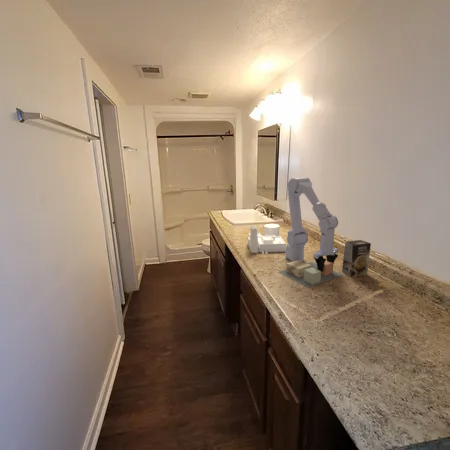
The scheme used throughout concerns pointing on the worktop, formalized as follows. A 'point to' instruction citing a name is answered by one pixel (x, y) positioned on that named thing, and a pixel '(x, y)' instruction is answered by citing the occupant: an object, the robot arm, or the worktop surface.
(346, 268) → the coffee box
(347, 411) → the worktop surface
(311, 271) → the sage cube
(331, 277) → the slate mat
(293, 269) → the birch slab
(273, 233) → the power plant
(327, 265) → the terracotta cube
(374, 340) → the worktop surface
